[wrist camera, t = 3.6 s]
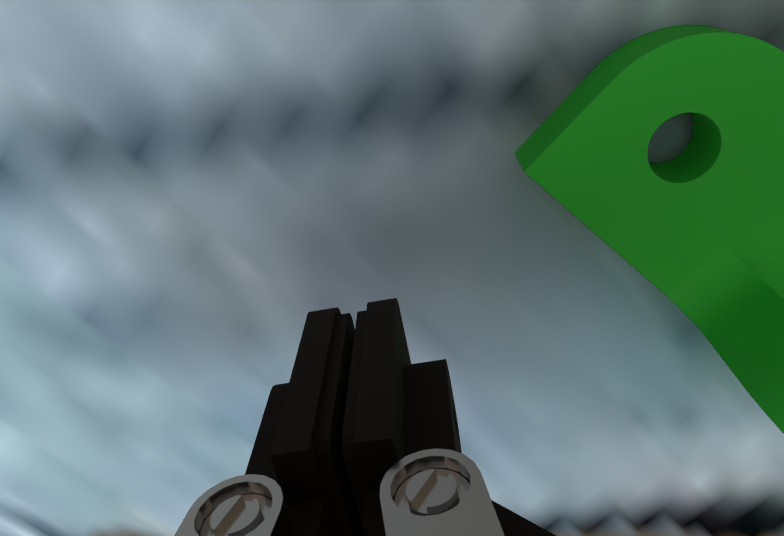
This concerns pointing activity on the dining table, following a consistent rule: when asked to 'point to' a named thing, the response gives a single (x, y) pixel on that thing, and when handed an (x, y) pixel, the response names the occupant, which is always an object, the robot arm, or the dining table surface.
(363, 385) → the robot arm
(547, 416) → the dining table surface
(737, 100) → the mechanical part
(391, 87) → the dining table surface
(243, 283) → the dining table surface
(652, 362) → the dining table surface
